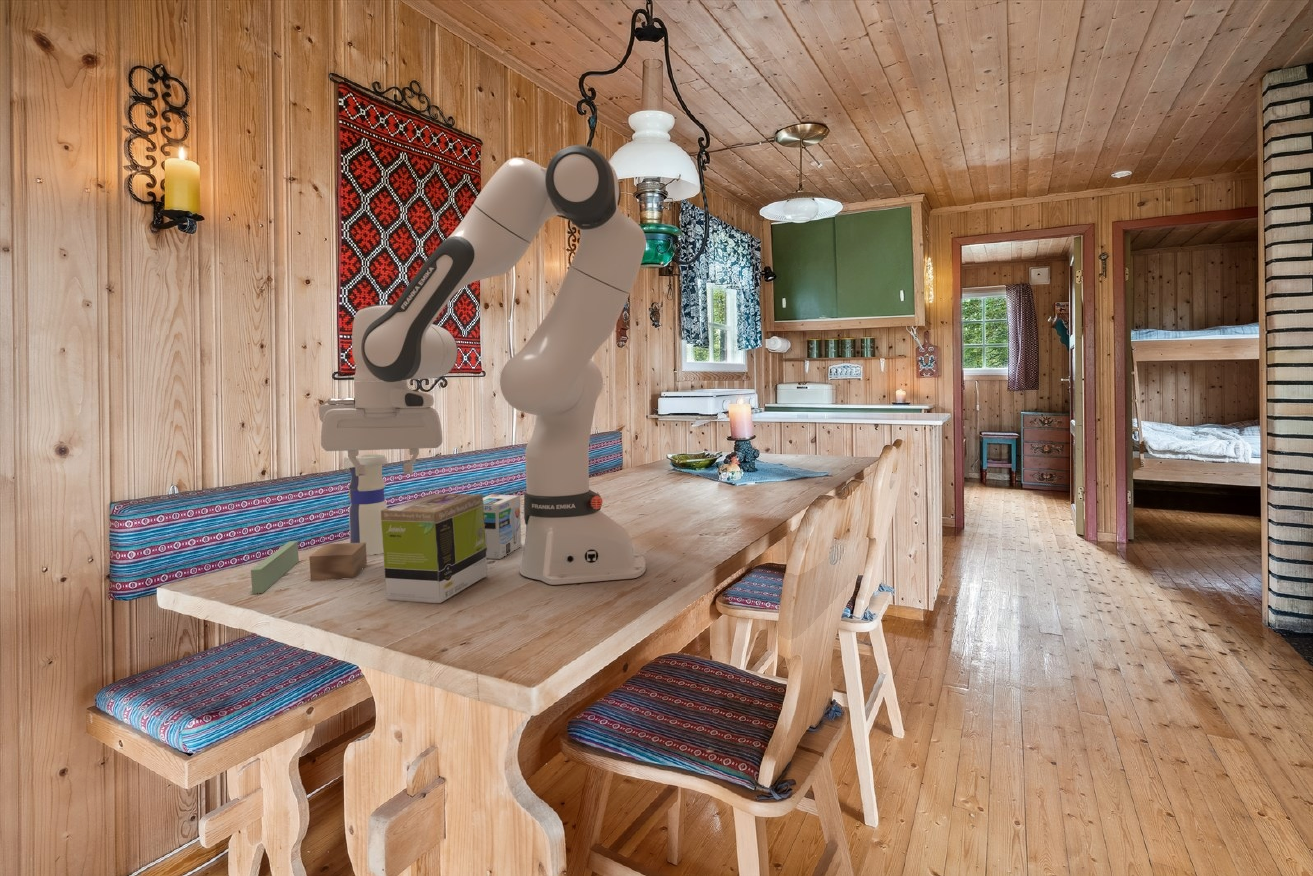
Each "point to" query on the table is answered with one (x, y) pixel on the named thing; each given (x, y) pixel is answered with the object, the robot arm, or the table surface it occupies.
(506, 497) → the light bulb box
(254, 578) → the green board
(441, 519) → the tea box
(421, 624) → the table surface
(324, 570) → the walnut block
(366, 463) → the water bottle
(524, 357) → the robot arm
